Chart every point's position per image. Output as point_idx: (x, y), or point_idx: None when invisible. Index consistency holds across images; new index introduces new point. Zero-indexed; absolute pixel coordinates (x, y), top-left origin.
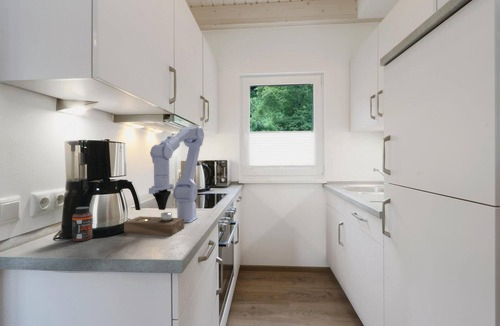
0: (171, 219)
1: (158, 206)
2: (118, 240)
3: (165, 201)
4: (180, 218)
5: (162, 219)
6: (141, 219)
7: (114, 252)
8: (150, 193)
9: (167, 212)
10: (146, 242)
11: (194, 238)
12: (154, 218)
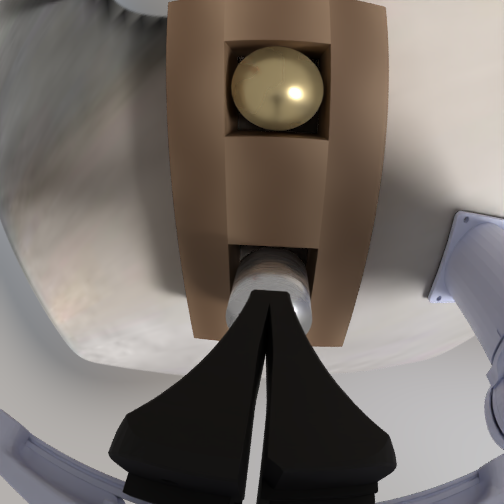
0: None
1: (242, 312)
2: (80, 105)
3: (267, 402)
4: (342, 332)
5: (233, 283)
6: (292, 60)
7: (18, 198)
8: (10, 421)
9: (300, 317)
10: (100, 241)
11: None
12: (336, 159)
